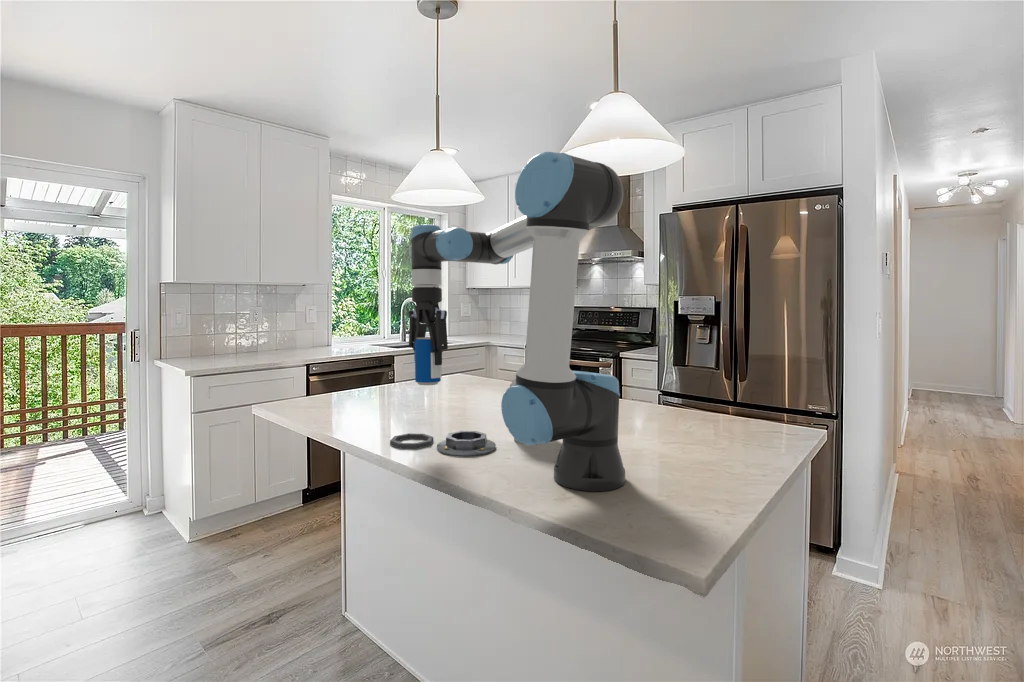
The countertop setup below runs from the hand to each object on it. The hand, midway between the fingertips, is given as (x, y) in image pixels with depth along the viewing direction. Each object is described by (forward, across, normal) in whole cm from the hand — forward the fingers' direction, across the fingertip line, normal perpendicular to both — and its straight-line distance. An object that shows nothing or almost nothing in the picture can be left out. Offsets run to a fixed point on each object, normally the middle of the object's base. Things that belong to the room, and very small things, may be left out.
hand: (428, 376), depth 138 cm
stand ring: (+18, +5, +2) cm, 19 cm away
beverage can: (+2, 0, 0) cm, 2 cm away
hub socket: (+18, -8, -6) cm, 21 cm away
